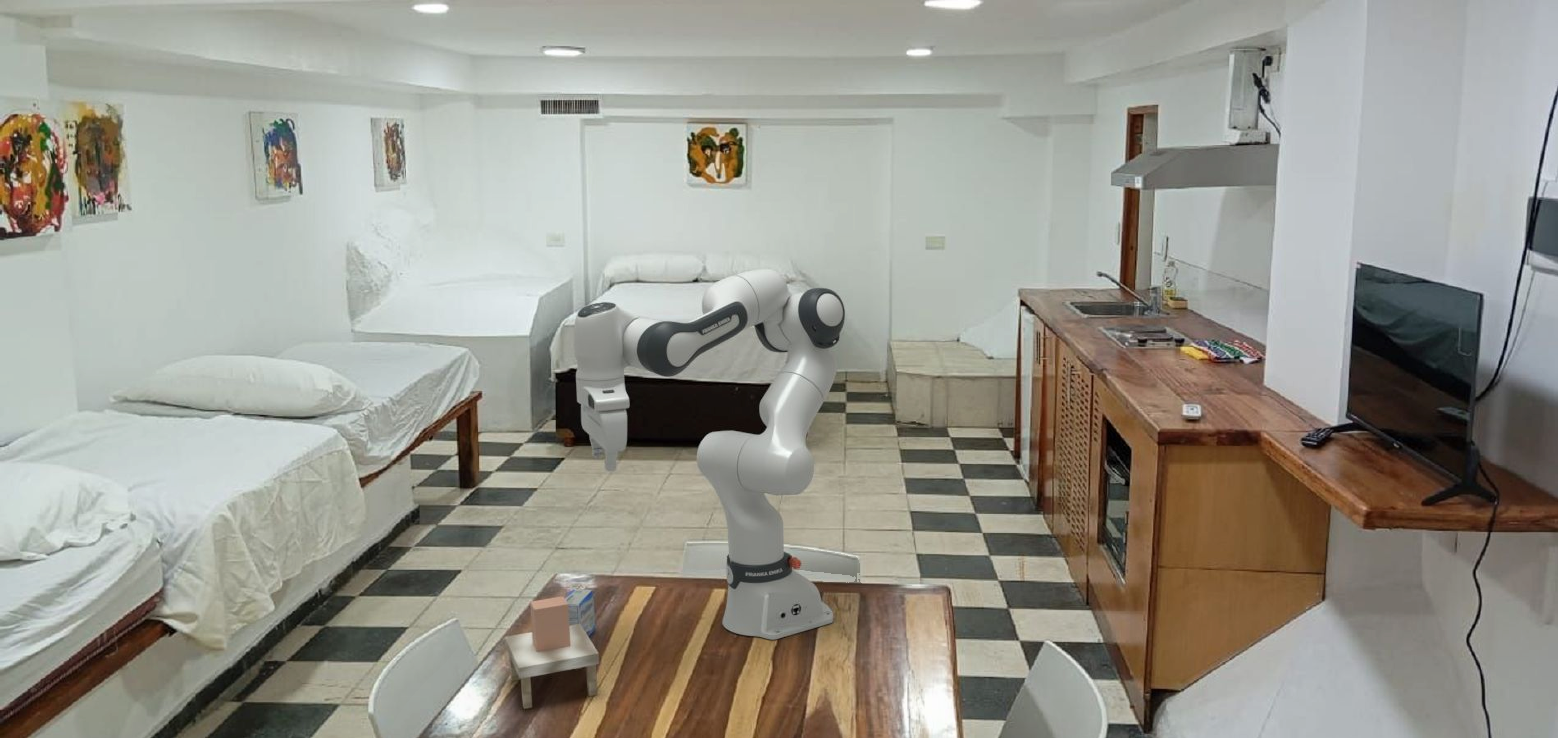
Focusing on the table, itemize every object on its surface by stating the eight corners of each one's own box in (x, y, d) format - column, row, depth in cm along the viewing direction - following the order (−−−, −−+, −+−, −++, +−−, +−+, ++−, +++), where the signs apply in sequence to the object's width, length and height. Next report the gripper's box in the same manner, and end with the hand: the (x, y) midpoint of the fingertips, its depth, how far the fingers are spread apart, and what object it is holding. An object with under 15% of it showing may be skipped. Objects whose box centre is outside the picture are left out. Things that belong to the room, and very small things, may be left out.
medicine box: (581, 646, 236) (579, 604, 234) (560, 645, 236) (557, 603, 235) (595, 630, 243) (593, 589, 241) (574, 628, 244) (572, 588, 242)
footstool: (582, 663, 228) (580, 623, 227) (600, 695, 215) (598, 653, 214) (507, 677, 223) (504, 636, 221) (521, 710, 210) (518, 667, 209)
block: (532, 643, 218) (530, 601, 217) (565, 637, 221) (563, 596, 219) (537, 652, 215) (534, 609, 213) (570, 646, 217) (568, 604, 215)
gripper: (571, 382, 232) (574, 452, 235) (597, 404, 214) (601, 479, 217) (603, 379, 235) (606, 448, 237) (632, 400, 216) (635, 475, 219)
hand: (604, 463), depth 227 cm, fingers open, 8 cm apart
